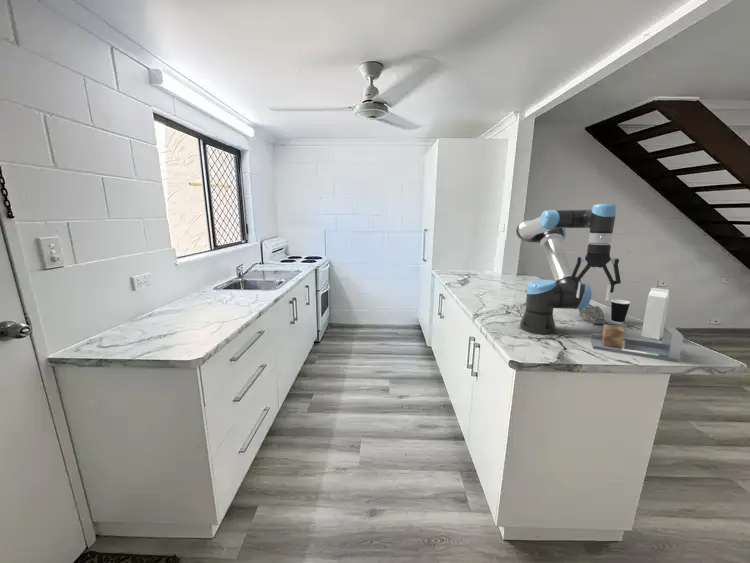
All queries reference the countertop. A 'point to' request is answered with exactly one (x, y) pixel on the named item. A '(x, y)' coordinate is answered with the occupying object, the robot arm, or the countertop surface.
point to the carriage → (613, 336)
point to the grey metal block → (671, 342)
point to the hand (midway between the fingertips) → (592, 298)
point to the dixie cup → (619, 310)
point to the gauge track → (633, 348)
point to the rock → (592, 314)
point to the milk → (655, 313)
